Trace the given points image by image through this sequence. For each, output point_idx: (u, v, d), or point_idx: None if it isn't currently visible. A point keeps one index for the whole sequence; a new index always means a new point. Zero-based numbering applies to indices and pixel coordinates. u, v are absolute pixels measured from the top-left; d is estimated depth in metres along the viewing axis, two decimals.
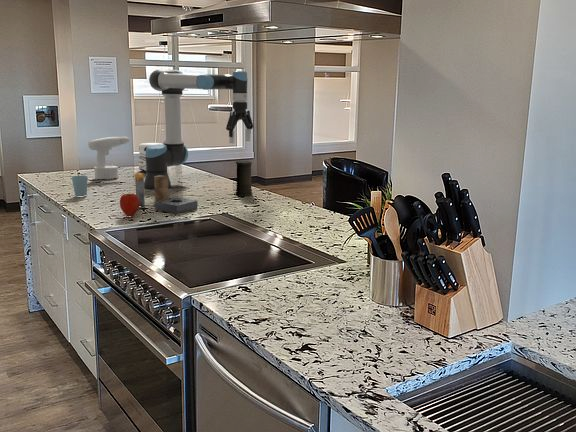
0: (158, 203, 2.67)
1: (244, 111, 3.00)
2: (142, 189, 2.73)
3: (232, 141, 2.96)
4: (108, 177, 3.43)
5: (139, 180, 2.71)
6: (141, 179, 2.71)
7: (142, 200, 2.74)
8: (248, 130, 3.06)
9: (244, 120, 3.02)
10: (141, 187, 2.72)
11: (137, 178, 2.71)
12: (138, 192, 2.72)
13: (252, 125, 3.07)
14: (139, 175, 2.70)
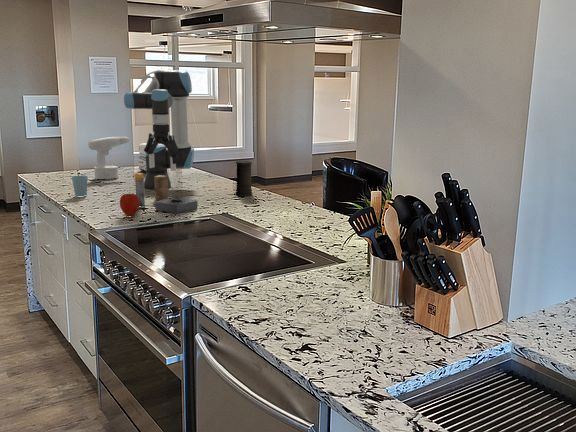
0: (158, 203, 2.67)
1: (163, 135, 2.63)
2: (142, 189, 2.73)
3: None
4: (108, 177, 3.43)
5: (139, 180, 2.71)
6: (141, 179, 2.71)
7: (142, 200, 2.74)
8: None
9: None
10: (141, 187, 2.72)
11: (137, 178, 2.71)
12: (138, 192, 2.72)
13: (175, 153, 2.61)
14: (139, 175, 2.70)
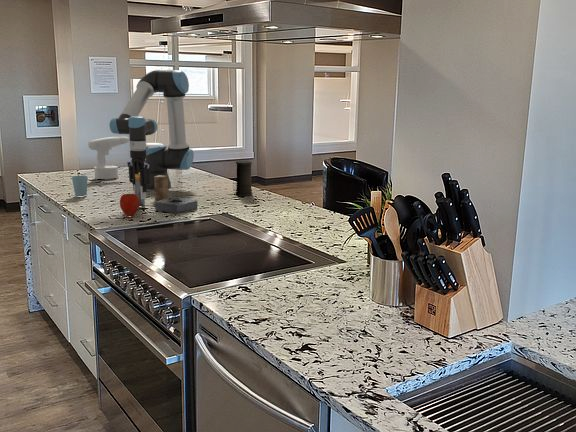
0: (158, 203, 2.67)
1: (140, 160, 2.68)
2: None
3: None
4: (108, 177, 3.43)
5: (139, 180, 2.71)
6: None
7: (142, 200, 2.74)
8: None
9: None
10: None
11: (137, 178, 2.71)
12: (138, 192, 2.72)
13: (145, 182, 2.69)
14: (139, 175, 2.70)
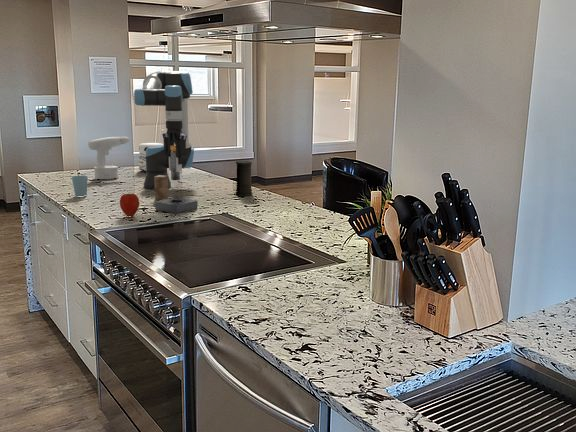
0: (158, 203, 2.67)
1: (176, 131, 2.60)
2: None
3: None
4: (108, 177, 3.43)
5: (175, 152, 2.63)
6: None
7: (177, 173, 2.65)
8: None
9: None
10: None
11: (173, 150, 2.62)
12: (173, 165, 2.64)
13: (181, 154, 2.61)
14: (174, 146, 2.62)
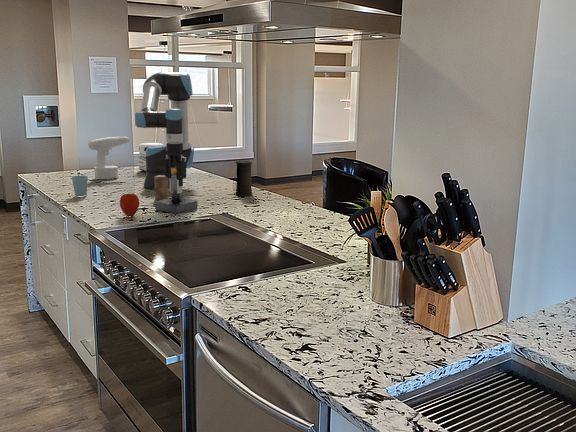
0: (158, 203, 2.67)
1: (177, 154, 2.62)
2: None
3: None
4: (108, 177, 3.43)
5: (175, 174, 2.65)
6: None
7: (178, 195, 2.68)
8: None
9: None
10: None
11: (173, 172, 2.65)
12: (174, 187, 2.66)
13: (181, 176, 2.63)
14: (175, 169, 2.64)
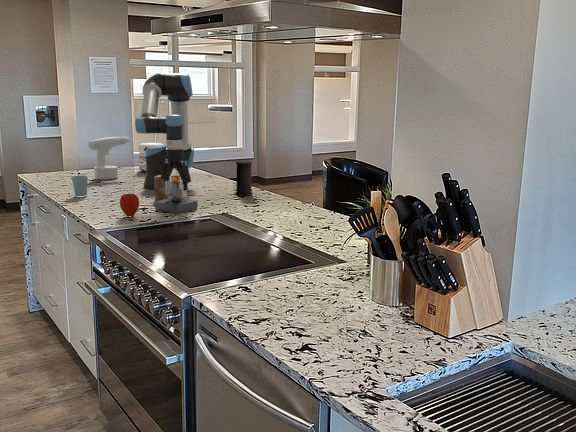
0: (158, 203, 2.67)
1: (177, 160, 2.63)
2: (178, 192, 2.68)
3: None
4: (108, 177, 3.43)
5: (175, 183, 2.66)
6: (177, 182, 2.66)
7: None
8: None
9: None
10: (177, 190, 2.67)
11: (173, 181, 2.66)
12: (174, 195, 2.67)
13: (186, 180, 2.62)
14: (175, 177, 2.65)
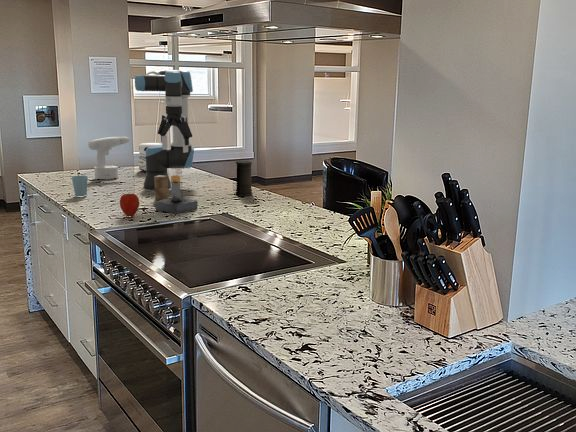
0: (158, 203, 2.67)
1: (176, 117, 2.66)
2: (178, 192, 2.68)
3: None
4: (108, 177, 3.43)
5: (175, 183, 2.66)
6: (177, 182, 2.66)
7: None
8: None
9: None
10: (177, 190, 2.67)
11: (173, 181, 2.66)
12: (174, 195, 2.67)
13: (187, 135, 2.64)
14: (175, 177, 2.65)
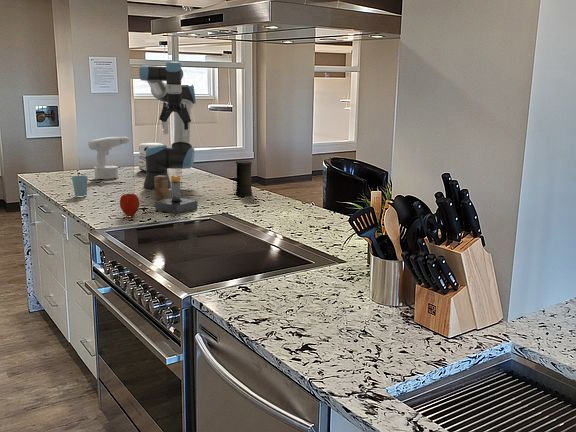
0: (158, 203, 2.67)
1: (176, 103, 2.89)
2: (178, 192, 2.68)
3: None
4: (108, 177, 3.43)
5: (175, 183, 2.66)
6: (177, 182, 2.66)
7: None
8: None
9: None
10: (177, 190, 2.67)
11: (173, 181, 2.66)
12: (174, 195, 2.67)
13: (186, 120, 2.87)
14: (175, 177, 2.65)
